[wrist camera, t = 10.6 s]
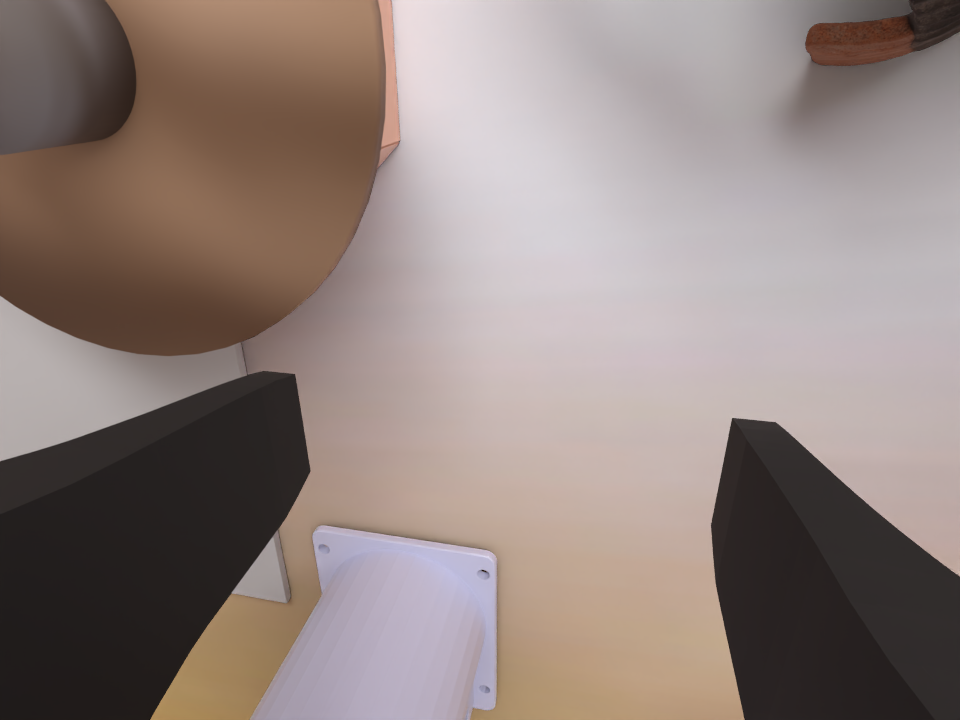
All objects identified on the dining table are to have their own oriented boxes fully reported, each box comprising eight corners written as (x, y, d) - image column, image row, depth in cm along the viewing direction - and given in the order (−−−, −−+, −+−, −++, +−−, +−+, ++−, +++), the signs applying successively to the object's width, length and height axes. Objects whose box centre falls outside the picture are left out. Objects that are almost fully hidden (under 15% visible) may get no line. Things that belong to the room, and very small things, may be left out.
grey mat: (291, 597, 29) (286, 603, 29) (13, 546, 32) (6, 552, 32) (227, 272, 22) (220, 275, 22) (-120, 249, 25) (-130, 252, 25)
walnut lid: (398, 377, 16) (353, 438, 14) (-57, 317, 19) (-166, 358, 17) (366, -452, 10) (268, -640, 7) (-323, -360, 13) (-574, -471, 10)
